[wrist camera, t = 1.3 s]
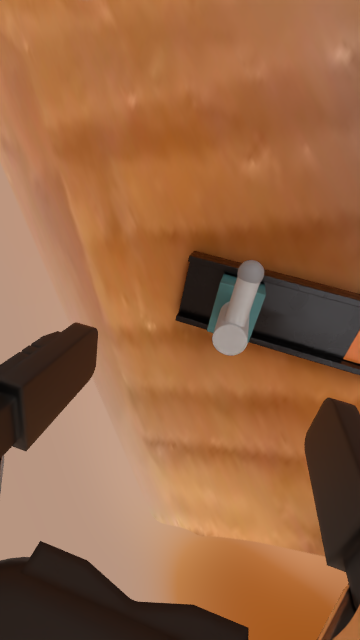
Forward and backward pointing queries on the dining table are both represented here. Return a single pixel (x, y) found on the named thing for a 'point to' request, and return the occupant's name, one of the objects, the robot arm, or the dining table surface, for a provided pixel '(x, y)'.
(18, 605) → the robot arm
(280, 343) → the rail
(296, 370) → the dining table surface
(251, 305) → the handle
